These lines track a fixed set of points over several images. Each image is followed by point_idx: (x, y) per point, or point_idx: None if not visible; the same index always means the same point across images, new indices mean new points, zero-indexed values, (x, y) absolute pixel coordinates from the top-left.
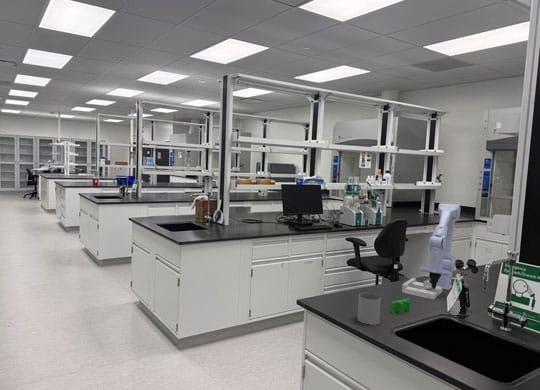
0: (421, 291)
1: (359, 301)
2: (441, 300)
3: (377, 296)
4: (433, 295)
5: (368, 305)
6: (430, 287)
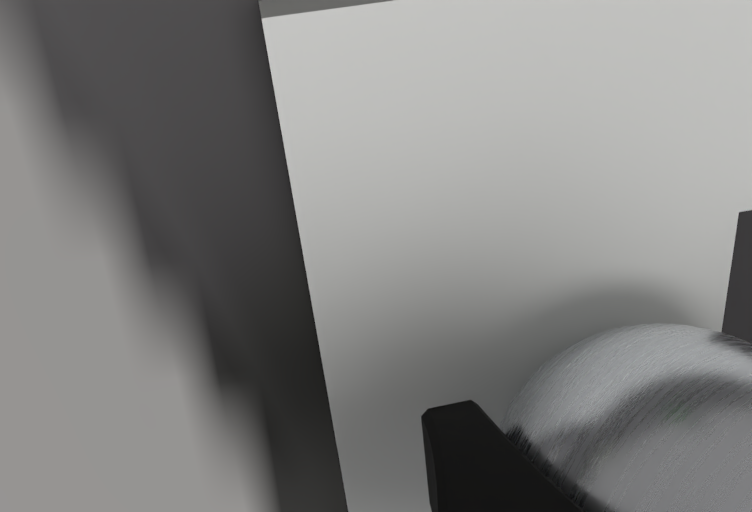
0: (715, 2)
1: None
2: (85, 131)
3: None
4: (281, 7)
5: None
6: (554, 377)
